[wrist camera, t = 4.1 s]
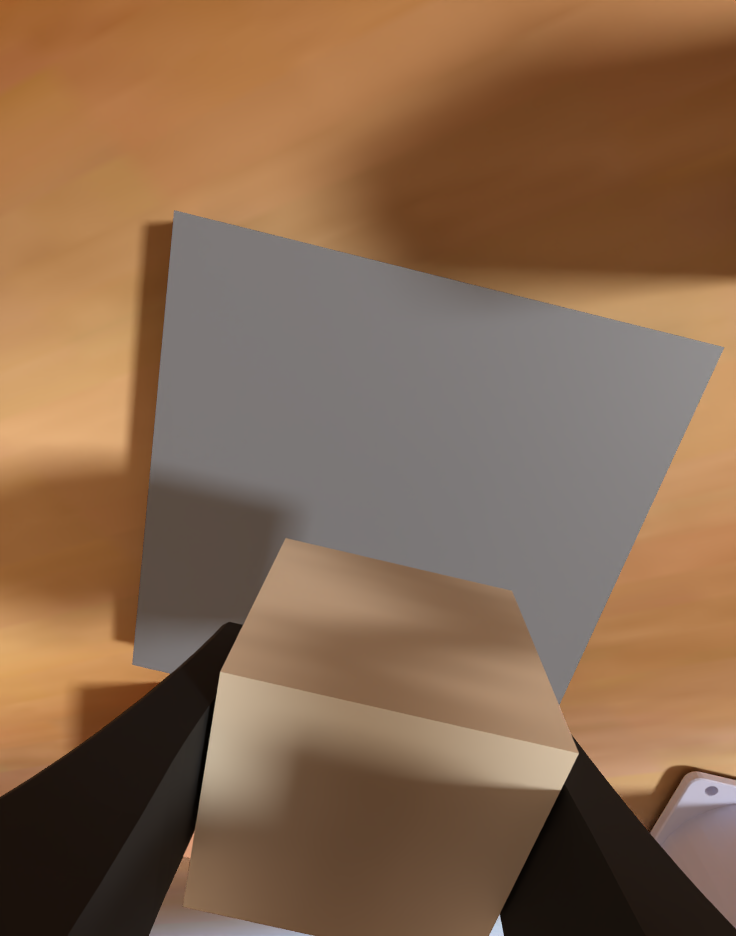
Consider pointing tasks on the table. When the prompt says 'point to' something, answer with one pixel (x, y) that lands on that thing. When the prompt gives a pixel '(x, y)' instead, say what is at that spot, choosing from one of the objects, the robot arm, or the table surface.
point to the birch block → (375, 753)
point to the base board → (395, 436)
